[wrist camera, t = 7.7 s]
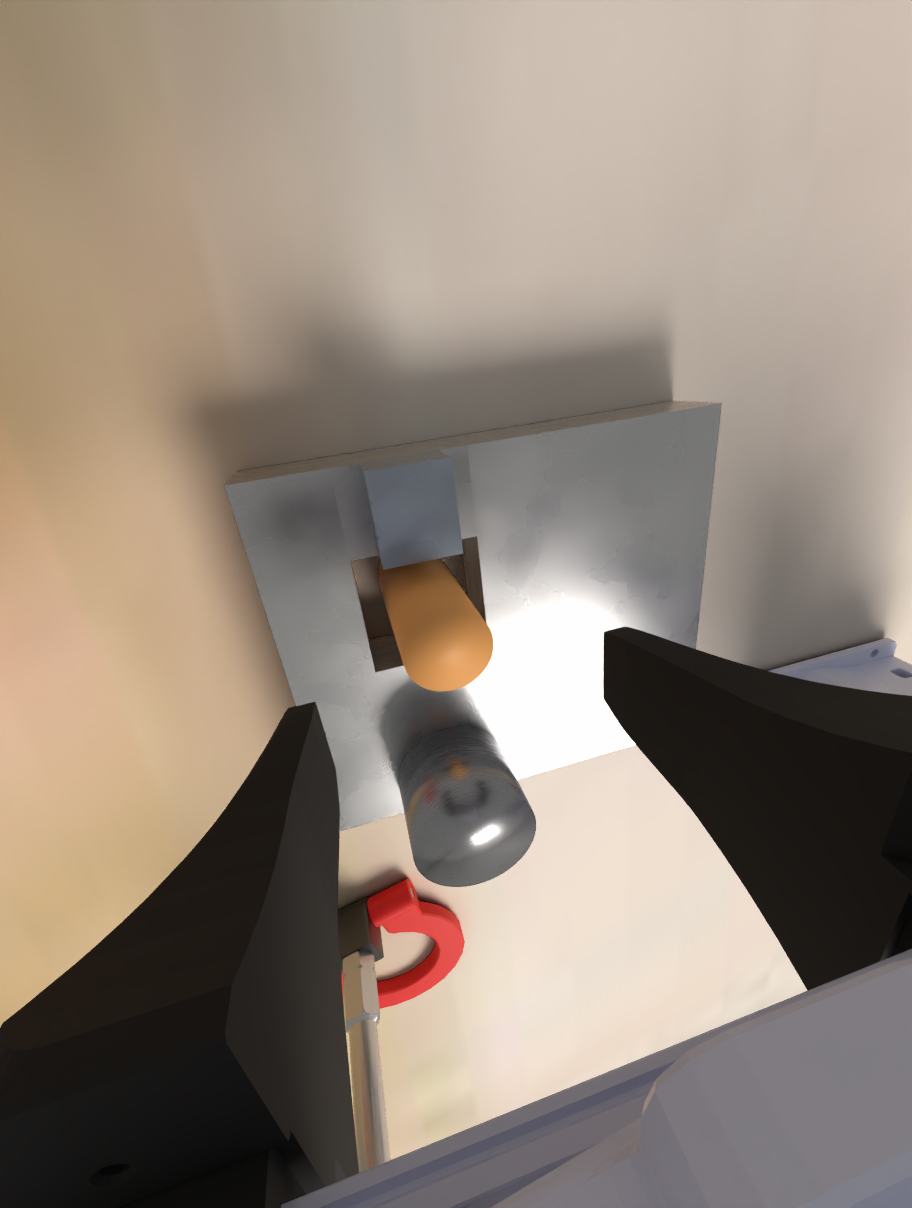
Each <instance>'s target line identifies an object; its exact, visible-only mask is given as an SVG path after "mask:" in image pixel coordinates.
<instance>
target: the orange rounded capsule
mask: <svg viewBox="0 0 912 1208" xmlns="http://www.w3.org/2000/svg"><path fill="white" fill-rule="evenodd" d="M378 580H379V586H380V589H381V592H382V596H383V599H384V602H385V606H386V609H387V612H388V615H389V619H390V622H391V625H392V629H393V632H394V635H395V638H396V642H397V645H398V648H399V652H400V655H401V658H402V662H403V665H404V668H405V670H406V672H407V674H408V675H409V677H410V678H411V679H412V680H413V681H414V682H415V683H416V684H418V685H419V686H421V687H423V688H425V689H429V690H433V691H452V690H456V689H459V688H462V687H464V686H466V685H468V684H470V683H471V682H473V681H474V680H475V679H477V678H478V677H479V676H480V675H481V674H482V673H483V671H484V670H485V669H486V667H487V666H488V664H489V662H490V659H491V657H492V653H493V636H492V633H491V631H490V629H489V627H488V625H487V624H486V622H485V621H484V619H483V618H482V617H481V615H480V614H479V612H478V611H477V609H476V608H475V607H474V605H473V604H472V602H471V601H470V599H469V598H468V597H467V595H466V594H465V592H464V591H463V589H462V588H461V587H460V585H459V584H458V582H457V581H456V579H455V578H454V577H453V575H452V574H451V572H450V571H449V569H448V568H447V567H446V565H445V564H444V562H443V561H442V559H441V558H439V559H434V560H429V561H424V562H419V563H414V564H410V565H405V566H400V567H395V568H390V569H385V570H383V567H382V564H381V566H380V569H379V574H378Z"/></svg>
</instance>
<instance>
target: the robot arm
mask: <svg viewBox="0 0 912 1208" xmlns="http://www.w3.org/2000/svg"><path fill="white" fill-rule="evenodd" d="M895 649H896V642H895V641H893V640H891V639H889V638H884V639H881V640H877V641H874V642H870V643H866V644H863V645H859V646H856V647H852V648H848V649H845V650H841V651H838V652H834V653H830V654H827V655H823V656H820V657H816V658H812V659H809V660H805V661H802V662H798V663H794V664H791V665H787V666H784V667H780V668H776V669H773V670H769V671H765V670H761V669H758V668H754V667H751V666H747V665H744V664H740V663H737V662H734V661H730V660H727V659H724V658H721V657H717V656H714V655H711V654H708V653H705V652H702V651H699V650H696V649H693V648H690V647H688V646H685V645H682V644H679V643H676V642H673V641H670V640H667V639H665V638H662V637H659V636H656V635H653V634H650V633H647V632H644V631H641V630H637V629H634V628H630V627H626V626H625V627H621V628H617V629H613V630H609V631H605V632H604V645H603V699H604V700H605V702H606V703H607V705H608V707H609V708H610V710H611V712H612V713H613V715H614V716H615V718H616V719H617V721H618V722H619V724H620V725H621V727H622V728H623V730H624V731H625V732H626V733H627V735H628V736H629V737H630V738H631V739H632V740H633V742H634V743H635V744H636V745H637V746H638V748H639V749H640V750H641V751H642V752H643V753H644V755H645V756H646V757H647V758H648V759H649V760H650V761H651V763H652V764H653V765H654V766H655V767H656V768H657V769H658V771H659V772H660V773H661V774H662V775H663V776H664V778H665V779H666V780H667V781H668V782H669V783H670V784H671V786H672V787H673V788H674V789H675V790H676V791H677V792H678V794H679V795H680V796H681V797H682V798H683V800H684V801H685V802H686V803H687V805H688V806H689V807H690V808H691V810H692V811H693V812H694V813H695V815H696V816H697V817H698V819H699V820H700V822H701V823H702V825H703V826H704V827H705V829H706V830H707V832H708V833H709V834H710V836H711V837H712V839H713V840H714V842H715V843H716V844H717V846H718V847H719V849H720V850H721V852H722V853H723V855H724V856H725V858H726V859H727V861H728V862H729V864H730V865H731V867H732V868H733V870H734V871H735V873H736V874H737V876H738V877H739V879H740V880H741V882H742V883H743V885H744V886H745V888H746V889H747V891H748V892H749V894H750V895H751V897H752V899H753V900H754V902H755V903H756V905H757V907H758V908H759V910H760V911H761V913H762V915H763V916H764V918H765V919H766V921H767V923H768V924H769V926H770V927H771V929H772V931H773V932H774V934H775V935H776V937H777V939H778V940H779V942H780V944H781V946H782V947H783V949H784V951H785V952H786V954H787V956H788V958H789V959H790V961H791V963H792V964H793V966H794V968H795V970H796V971H797V973H798V975H799V976H800V978H801V980H802V982H803V983H804V985H805V987H806V988H807V990H808V991H806V992H804V993H801V994H799V995H796V996H794V997H791V998H789V999H786V1000H784V1001H781V1002H779V1003H777V1004H774V1005H772V1006H769V1007H767V1008H764V1009H762V1010H759V1011H757V1012H754V1013H752V1014H750V1015H747V1016H745V1017H742V1018H740V1019H737V1020H735V1021H732V1022H730V1023H727V1024H725V1025H722V1026H720V1027H718V1028H715V1029H713V1030H710V1031H708V1032H705V1033H703V1034H700V1035H698V1036H695V1037H693V1038H690V1039H688V1040H686V1041H683V1042H681V1043H678V1044H676V1045H673V1046H671V1047H668V1048H666V1049H663V1050H661V1051H658V1052H656V1053H654V1054H651V1055H649V1056H646V1057H644V1058H641V1059H639V1060H636V1061H634V1062H631V1063H629V1064H626V1065H624V1066H622V1067H619V1068H617V1069H614V1070H612V1071H609V1072H607V1073H604V1074H602V1075H599V1076H597V1077H594V1078H592V1079H590V1080H587V1081H585V1082H582V1083H580V1084H577V1085H575V1086H572V1087H570V1088H567V1089H565V1090H562V1091H560V1092H558V1093H555V1094H553V1095H550V1096H548V1097H545V1098H543V1099H540V1100H538V1101H535V1102H533V1103H530V1104H528V1105H526V1106H523V1107H521V1108H518V1109H516V1110H513V1111H511V1112H508V1113H506V1114H503V1115H501V1116H498V1117H496V1118H494V1119H491V1120H489V1121H486V1122H484V1123H481V1124H479V1125H476V1126H474V1127H471V1128H469V1129H467V1130H464V1131H462V1132H459V1133H457V1134H454V1135H452V1136H449V1137H447V1138H444V1139H442V1140H439V1141H437V1142H435V1143H432V1144H430V1145H427V1146H425V1147H422V1148H420V1149H417V1150H415V1151H412V1152H410V1153H407V1154H405V1155H403V1156H400V1157H398V1158H395V1159H393V1160H390V1161H388V1162H385V1163H383V1164H380V1165H378V1166H375V1167H373V1168H371V1169H368V1170H366V1171H363V1172H361V1173H359V1165H358V1156H357V1146H356V1136H355V1126H354V1116H353V1107H352V1096H351V1085H350V1075H349V1064H348V1053H347V1042H346V1030H345V1018H344V1005H343V993H342V980H341V966H340V952H339V938H338V868H339V828H340V805H339V794H338V784H337V775H336V768H335V764H334V761H333V758H332V754H331V751H330V748H329V744H328V741H327V738H326V735H325V731H324V728H323V725H322V721H321V718H320V715H319V711H318V708H317V705H316V702H312V703H307V704H303V705H299V706H295V707H291V708H288V709H287V711H286V712H285V714H284V716H283V717H282V719H281V721H280V723H279V724H278V726H277V728H276V730H275V732H274V733H273V735H272V737H271V739H270V740H269V742H268V744H267V746H266V747H265V749H264V751H263V752H262V754H261V756H260V757H259V759H258V761H257V762H256V764H255V765H254V767H253V769H252V770H251V772H250V773H249V775H248V777H247V778H246V780H245V781H244V783H243V784H242V785H241V787H240V788H239V790H238V791H237V793H236V794H235V796H234V797H233V798H232V800H231V801H230V803H229V804H228V806H227V807H226V809H225V810H224V811H223V813H222V814H221V815H220V817H219V818H218V819H217V821H216V822H215V823H214V824H213V826H212V827H211V828H210V829H209V831H208V832H207V833H206V834H205V835H204V837H203V838H202V839H201V840H200V841H199V843H198V844H197V845H196V846H195V847H194V849H193V850H192V851H191V852H190V853H189V854H188V855H187V857H186V858H185V859H184V860H183V861H182V862H181V863H180V864H179V865H178V866H177V867H176V868H175V869H174V870H173V871H172V872H171V873H170V875H169V876H168V877H167V878H166V879H165V880H164V881H163V882H162V883H161V884H160V885H159V886H158V887H157V888H156V889H155V890H154V891H153V892H152V894H151V895H150V896H149V897H148V898H147V899H146V900H145V901H144V902H143V903H142V904H141V905H139V906H138V907H137V908H136V909H135V910H134V911H133V912H132V913H131V914H130V915H129V916H128V917H127V918H126V919H125V920H124V921H123V922H122V923H121V924H120V925H118V926H117V927H116V928H115V929H114V930H113V931H112V932H111V933H110V934H109V935H107V936H106V937H105V938H104V939H103V940H102V941H101V942H100V943H99V944H98V945H96V946H95V947H94V948H93V949H92V950H91V951H90V952H89V953H87V954H86V955H85V956H84V957H83V958H82V959H81V960H79V961H78V962H77V963H76V964H75V965H73V966H72V967H71V968H70V969H69V970H67V971H66V972H65V973H64V974H63V975H61V976H60V977H59V978H58V979H57V980H55V981H54V982H53V983H52V984H50V985H49V986H48V987H47V988H46V989H44V990H43V991H42V992H41V993H40V994H38V995H37V996H36V997H35V998H33V999H32V1000H31V1001H30V1002H29V1003H27V1004H26V1005H25V1006H24V1007H23V1008H21V1009H20V1010H19V1011H18V1012H16V1013H15V1014H14V1015H13V1016H11V1017H10V1018H9V1019H7V1020H6V1021H5V1022H4V1023H3V1024H2V1026H1V1028H0V1208H912V665H911V664H909V663H907V662H904V661H902V660H900V659H898V658H896V657H894V652H895Z"/></svg>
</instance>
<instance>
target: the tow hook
mask: <svg viewBox="0 0 912 1208" xmlns="http://www.w3.org/2000/svg"><path fill="white" fill-rule="evenodd" d="M381 925H382V926H383V927H384V928H385V929H386V930H387V931H388V932H389V933H399V932H418V933H424V934H426V935H428V936H430V937H432V938H433V939H434V940H435V941H436V944H435V947H434V949H433V951H432V953H431V954H430V955H429V956H428V958H427V959H426V960H425V961H424V962H422V963H421V964H420V965H418V966H417V967H416V968H414V969H412V970H411V971H409V972H407V973H405V974H403V975H400V976H398V977H395V978H392V979H388V980H383V981H378V982H377V981H376V972H375V962H376V961H378V960H380V959H382V958H383V957H384V955H383V947H382V939H381V931H380V926H381ZM338 938H339V952H340V966H341V980H342V993H343V1005H344V1018H345V1030H346V1032H347V1033H349V1041H350V1058H351V1074H352V1091H353V1107H354V1124H355V1136H356V1146H357V1156H358V1165H359V1173H361V1172H363V1171H366V1170H368V1169H371V1168H373V1167H375V1166H378V1165H380V1164H383V1163H385V1162H388V1161H390V1160H391V1158H390V1148H389V1138H388V1129H387V1119H386V1109H385V1099H384V1090H383V1080H382V1070H381V1061H380V1051H379V1041H378V1031H377V1025H378V1023H379V1019H380V1008H384V1007H389V1006H393V1005H396V1004H399V1003H402V1002H404V1001H407V1000H409V999H412V998H414V997H416V996H418V995H420V994H421V993H423V992H425V991H427V990H429V989H430V988H432V987H433V986H434V985H436V984H437V983H438V982H440V981H441V980H442V979H444V978H445V977H446V976H447V974H448V973H449V972H450V971H451V970H452V969H453V968H454V967H455V966H456V964H457V962H458V960H459V958H460V957H461V955H462V952H463V947H464V938H463V934H462V930H461V926H460V923H459V920H458V919H457V918H456V916H455V915H454V914H453V913H452V912H451V911H449V910H448V909H446V908H444V907H442V906H440V905H436V904H431V903H426V902H420V901H419V900H418V898H417V894H416V891H415V888H414V886H413V884H412V882H411V881H410V880H409V879H406V880H404V881H402V882H400V883H398V884H396V885H394V886H392V887H390V888H388V889H386V890H384V891H382V892H380V893H378V894H376V895H374V896H372V897H365V898H363V899H361V900H359V901H357V902H355V903H353V904H351V905H349V906H347V907H345V908H343V909H341V910H339V911H338Z"/></svg>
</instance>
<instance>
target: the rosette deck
mask: <svg viewBox="0 0 912 1208" xmlns="http://www.w3.org/2000/svg"><path fill="white" fill-rule="evenodd" d="M721 404H722V403H707V402H688V401H669V402H663V403H657V404H651V405H645V406H638V407H632V408H626V409H620V410H614V411H607V412H601V413H595V414H589V415H583V416H577V417H570V418H564V419H558V420H552V421H546V422H539V423H533V424H527V425H521V426H515V427H508V428H502V429H496V430H490V431H484V432H478V433H471V434H465V435H459V436H453V437H447V438H440V439H434V440H428V441H422V442H416V443H409V444H403V445H397V446H391V447H385V448H378V449H372V450H366V451H360V452H354V453H348V454H341V455H335V456H329V457H323V458H317V459H310V460H304V461H298V462H292V463H286V464H279V465H273V466H267V467H261V468H255V469H249V470H242V471H237V472H236V473H235V474H234V475H233V476H232V478H231V479H230V480H229V481H228V482H227V483H226V484H225V485H224V486H225V490H226V493H227V496H228V499H229V502H230V505H231V508H232V511H233V514H234V517H235V520H236V523H237V526H238V530H239V533H240V536H241V539H242V542H243V545H244V548H245V551H246V554H247V557H248V560H249V563H250V566H251V569H252V573H253V576H254V579H255V582H256V585H257V588H258V591H259V594H260V597H261V600H262V603H263V606H264V609H265V612H266V616H267V619H268V622H269V625H270V628H271V631H272V634H273V637H274V640H275V643H276V646H277V649H278V652H279V655H280V659H281V662H282V665H283V668H284V671H285V674H286V677H287V680H288V683H289V686H290V689H291V692H292V695H293V698H294V702H295V705H296V706H299V705H303V704H307V703H312V702H316V705H317V708H318V711H319V715H320V718H321V721H322V725H323V728H324V731H325V735H326V738H327V741H328V744H329V748H330V751H331V754H332V758H333V761H334V764H335V768H336V775H337V784H338V794H339V805H340V828H339V831H343V830H346V829H349V828H353V827H356V826H360V825H363V824H367V823H370V822H373V821H377V820H380V819H384V818H387V817H390V816H394V815H397V814H401V813H404V814H405V818H406V823H407V828H408V833H409V838H410V843H411V848H412V853H413V858H414V862H415V865H416V867H417V869H418V871H419V872H420V873H421V874H422V875H423V876H424V877H425V878H426V879H428V880H430V881H431V882H434V883H436V884H439V885H443V886H450V887H463V886H471V885H476V884H479V883H483V882H485V881H488V880H491V879H493V878H495V877H497V876H499V875H500V874H502V873H504V872H505V871H507V870H508V869H510V868H511V867H512V866H513V865H515V864H516V863H517V862H518V861H519V860H520V859H521V858H522V857H523V855H524V854H525V853H526V852H527V850H528V849H529V847H530V845H531V843H532V841H533V838H534V835H535V831H536V820H535V816H534V813H533V811H532V809H531V807H530V805H529V803H528V801H527V799H526V797H525V795H524V793H523V791H522V789H521V787H520V785H519V783H518V781H517V779H520V778H524V777H527V776H531V775H534V774H537V773H541V772H544V771H548V770H551V769H555V768H558V767H561V766H565V765H568V764H572V763H575V762H578V761H582V760H585V759H589V758H592V757H596V756H599V755H602V754H606V753H609V752H613V751H616V750H619V749H623V748H626V747H630V746H633V745H636V744H635V743H634V742H633V740H632V739H631V738H630V737H629V736H628V735H627V733H626V732H625V731H624V730H623V728H622V727H621V725H620V724H619V722H618V721H617V719H616V718H615V716H614V715H613V713H612V712H611V710H610V708H609V707H608V705H607V703H606V702H605V700H604V699H603V645H604V632H605V631H609V630H613V629H617V628H621V627H625V626H626V627H630V628H634V629H637V630H641V631H644V632H647V633H650V634H653V635H656V636H659V637H662V638H665V639H667V640H670V641H673V642H676V643H679V644H682V645H685V646H688V647H690V648H693V649H696V641H697V631H698V622H699V612H700V603H701V593H702V584H703V574H704V565H705V555H706V546H707V536H708V527H709V517H710V508H711V498H712V489H713V479H714V470H715V460H716V451H717V441H718V432H719V423H720V413H721ZM458 554H463V562H464V570H465V578H466V586H467V594H468V598H469V599H470V601H471V602H472V604H473V605H474V607H475V608H476V609H477V611H478V612H479V614H480V615H481V617H482V618H483V619H484V621H485V622H486V624H487V625H488V627H489V629H490V631H491V633H492V636H493V653H492V657H491V659H490V662H489V664H488V666H487V667H486V669H485V670H484V671H483V673H482V674H481V675H480V676H479V677H478V678H477V679H475V680H474V681H473V682H471V683H470V684H468V685H466V686H464V687H462V688H459V689H456V690H452V691H433V690H429V689H425V688H423V687H421V686H419V685H418V684H416V683H415V682H414V681H413V680H412V679H411V678H410V677H409V675H408V674H407V672H406V670H405V668H404V665H403V662H402V658H401V655H400V652H399V648H398V645H397V642H396V638H395V635H394V634H392V635H387V636H383V637H378V638H374V639H370V640H369V637H368V633H367V629H366V624H365V620H364V616H363V611H362V607H361V603H360V598H359V594H358V589H357V585H356V581H355V576H354V572H353V568H352V563H351V561H355V560H360V559H365V558H370V557H375V556H379V558H380V561H381V564H382V567H383V570H385V569H390V568H395V567H400V566H405V565H410V564H414V563H419V562H424V561H429V560H434V559H439V558H444V557H449V556H454V555H458Z"/></svg>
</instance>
